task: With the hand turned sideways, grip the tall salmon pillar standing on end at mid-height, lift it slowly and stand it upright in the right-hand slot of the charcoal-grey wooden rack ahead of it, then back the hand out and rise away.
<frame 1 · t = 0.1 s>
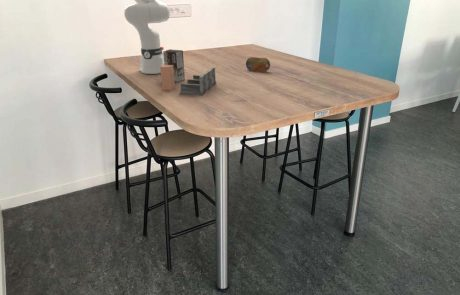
tin: (258, 71, 225), on the table
coffee box: (175, 80, 209), on the table
tall salmon pillar: (168, 89, 192), on the table
rack: (195, 90, 188), on the table
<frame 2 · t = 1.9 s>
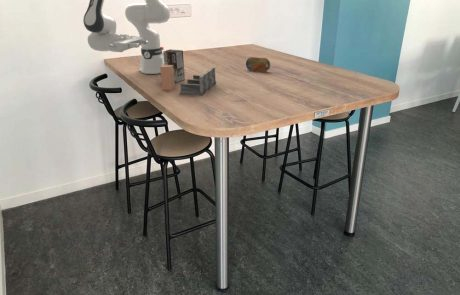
hand: (143, 44, 186), 22 cm above the table, tool horizontal, fingers open, 8 cm apart
nothing on the table moved.
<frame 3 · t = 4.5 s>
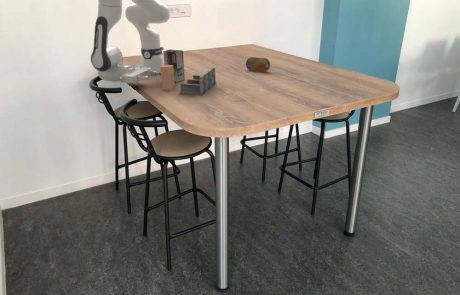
hand: (151, 75, 192), 6 cm above the table, tool horizontal, fingers open, 8 cm apart
nothing on the table moved.
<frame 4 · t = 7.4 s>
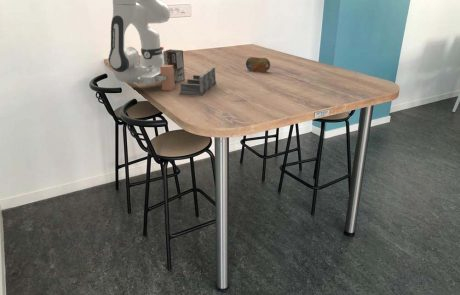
hand: (169, 76, 189), 7 cm above the table, tool horizontal, fingers closed on tall salmon pillar, 4 cm apart
tall salmon pillar: (168, 89, 192), on the table, touching gripper
everything else where it was.
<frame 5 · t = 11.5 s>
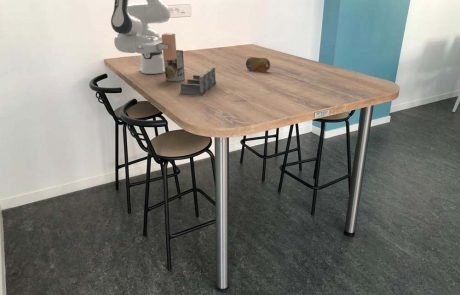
hand: (170, 45, 182), 22 cm above the table, tool horizontal, fingers closed on tall salmon pillar, 4 cm apart
tall salmon pillar: (170, 59, 185), point 15 cm above the table, touching gripper
everything else where it was.
when the fingers open (9 cm above the table, at t = 16.0 s): tall salmon pillar drops 1 cm, resting on rack.
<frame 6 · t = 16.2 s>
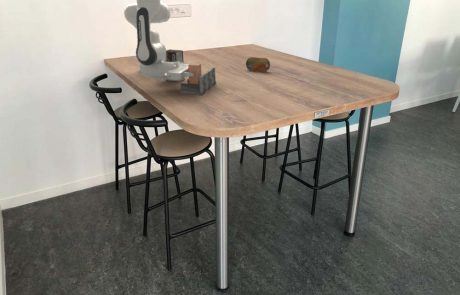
hand: (196, 72, 184), 9 cm above the table, tool horizontal, fingers open, 6 cm apart
tall salmon pillar: (195, 87, 188), point 2 cm above the table, touching rack
everything else where it was.
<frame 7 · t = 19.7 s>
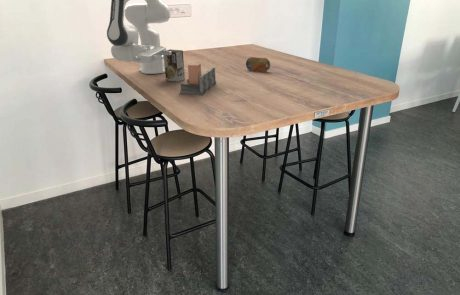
hand: (167, 55, 185), 17 cm above the table, tool horizontal, fingers open, 8 cm apart
nothing on the table moved.
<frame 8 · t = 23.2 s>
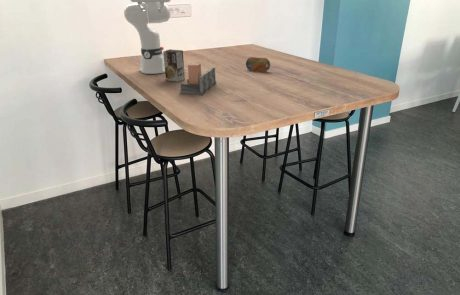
hand: (151, 12, 181), 37 cm above the table, tool pointing down, fingers open, 8 cm apart
nothing on the table moved.
at the end: tall salmon pillar 0.3 cm off-centre on the rack, point 1.5 cm above the rack's base; tall salmon pillar tilted 0°; the gripper is holding nothing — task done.
